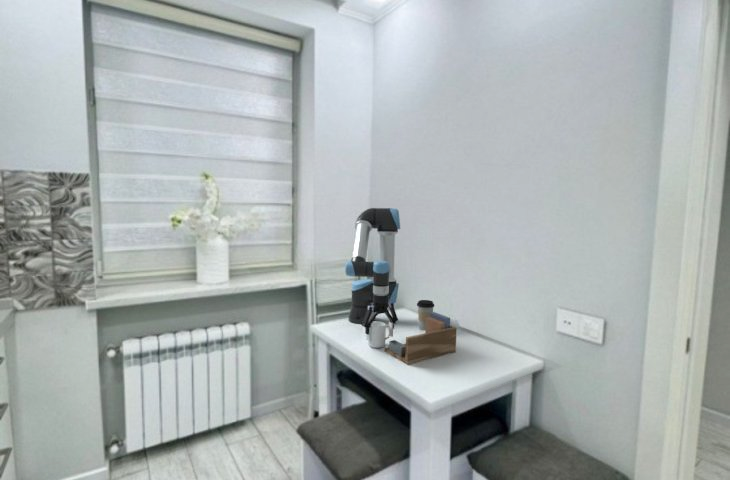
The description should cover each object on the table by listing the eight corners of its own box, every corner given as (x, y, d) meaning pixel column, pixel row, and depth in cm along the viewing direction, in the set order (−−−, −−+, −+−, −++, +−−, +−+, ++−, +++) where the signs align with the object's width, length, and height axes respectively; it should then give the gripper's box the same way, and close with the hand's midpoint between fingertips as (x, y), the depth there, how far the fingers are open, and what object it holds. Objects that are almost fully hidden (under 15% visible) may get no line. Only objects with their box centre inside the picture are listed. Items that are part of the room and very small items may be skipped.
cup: (364, 343, 187) (364, 322, 186) (385, 339, 193) (386, 319, 192) (373, 349, 180) (373, 328, 179) (395, 344, 186) (395, 324, 184)
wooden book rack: (384, 351, 178) (384, 326, 177) (430, 340, 193) (431, 318, 192) (407, 364, 164) (408, 338, 163) (455, 352, 179) (456, 327, 178)
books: (424, 342, 187) (425, 313, 185) (433, 340, 190) (434, 312, 188) (440, 349, 177) (441, 319, 176) (449, 347, 180) (450, 317, 179)
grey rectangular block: (389, 349, 176) (389, 341, 175) (394, 348, 177) (394, 340, 177) (401, 356, 168) (401, 347, 168) (406, 355, 170) (407, 346, 169)
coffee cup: (433, 326, 215) (433, 299, 214) (434, 332, 206) (435, 304, 204) (415, 325, 216) (416, 299, 215) (416, 331, 207) (417, 303, 205)
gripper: (363, 298, 174) (362, 345, 176) (406, 292, 187) (404, 336, 189) (354, 295, 180) (354, 340, 183) (396, 289, 193) (395, 331, 195)
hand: (379, 338), depth 186 cm, fingers closed on cup, 12 cm apart
